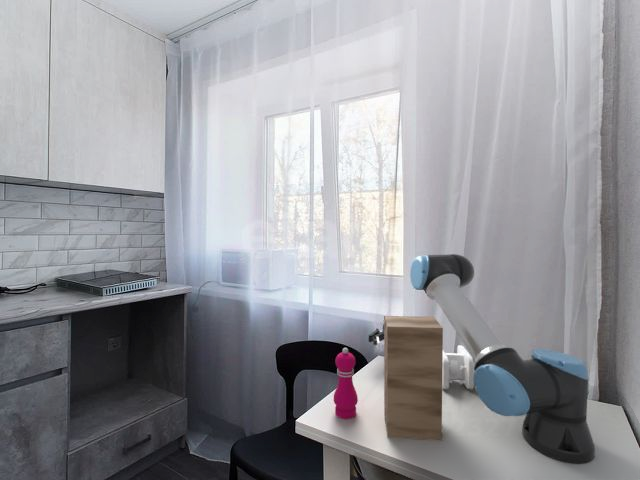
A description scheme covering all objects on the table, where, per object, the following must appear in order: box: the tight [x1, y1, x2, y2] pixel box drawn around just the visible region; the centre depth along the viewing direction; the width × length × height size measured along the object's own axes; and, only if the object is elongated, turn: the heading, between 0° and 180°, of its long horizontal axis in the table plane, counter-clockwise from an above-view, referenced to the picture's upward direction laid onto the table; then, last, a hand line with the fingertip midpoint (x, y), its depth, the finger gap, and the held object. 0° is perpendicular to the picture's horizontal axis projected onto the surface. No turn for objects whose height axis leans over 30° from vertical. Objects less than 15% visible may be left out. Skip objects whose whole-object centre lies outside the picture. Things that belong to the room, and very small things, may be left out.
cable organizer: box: [442, 345, 475, 390], centre depth 117 cm, size 15×11×12 cm
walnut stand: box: [383, 315, 444, 441], centre depth 92 cm, size 10×14×30 cm
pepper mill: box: [333, 347, 359, 420], centre depth 99 cm, size 7×7×20 cm
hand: (397, 347), depth 119 cm, fingers open, 13 cm apart
